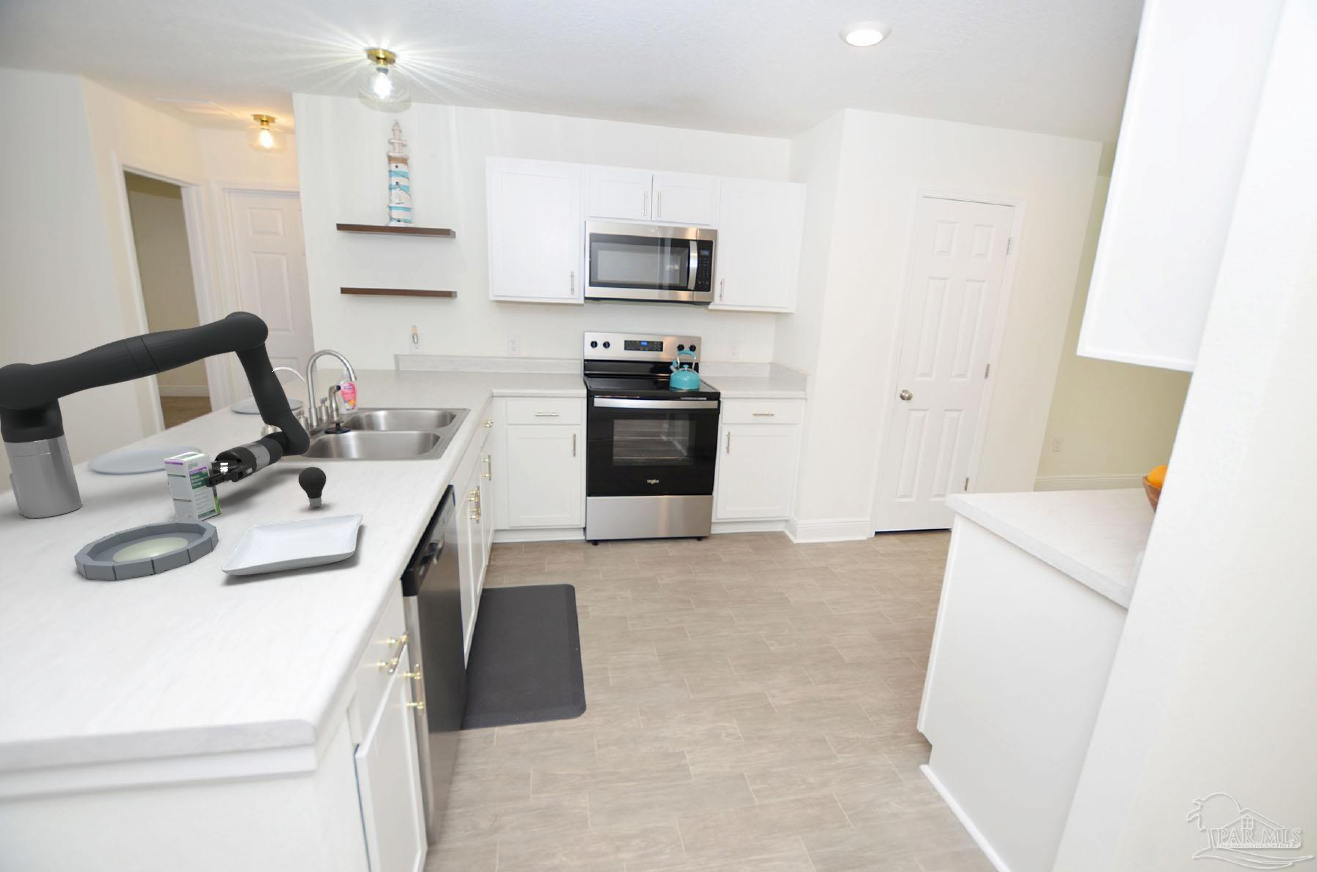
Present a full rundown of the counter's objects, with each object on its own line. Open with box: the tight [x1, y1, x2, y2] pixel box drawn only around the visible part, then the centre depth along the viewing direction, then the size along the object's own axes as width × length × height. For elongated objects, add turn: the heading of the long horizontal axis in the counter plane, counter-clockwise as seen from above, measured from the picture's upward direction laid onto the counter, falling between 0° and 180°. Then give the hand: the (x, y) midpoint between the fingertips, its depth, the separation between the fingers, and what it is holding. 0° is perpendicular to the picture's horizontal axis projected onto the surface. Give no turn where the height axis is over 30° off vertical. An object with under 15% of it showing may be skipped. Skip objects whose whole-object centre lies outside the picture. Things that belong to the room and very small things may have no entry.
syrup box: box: [163, 451, 222, 521], centre depth 126 cm, size 6×6×14 cm
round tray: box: [73, 519, 219, 581], centre depth 110 cm, size 20×20×3 cm
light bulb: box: [297, 466, 327, 509], centre depth 134 cm, size 6×6×10 cm
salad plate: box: [221, 513, 363, 576], centre depth 113 cm, size 21×21×3 cm
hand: (188, 482), depth 125 cm, fingers open, 8 cm apart
